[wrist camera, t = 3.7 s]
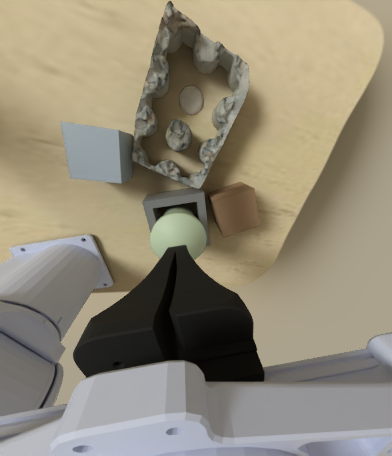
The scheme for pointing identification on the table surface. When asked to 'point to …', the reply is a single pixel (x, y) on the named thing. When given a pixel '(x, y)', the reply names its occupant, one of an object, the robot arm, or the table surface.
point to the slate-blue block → (98, 153)
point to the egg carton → (188, 95)
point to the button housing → (175, 198)
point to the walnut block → (234, 208)
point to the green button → (178, 232)
